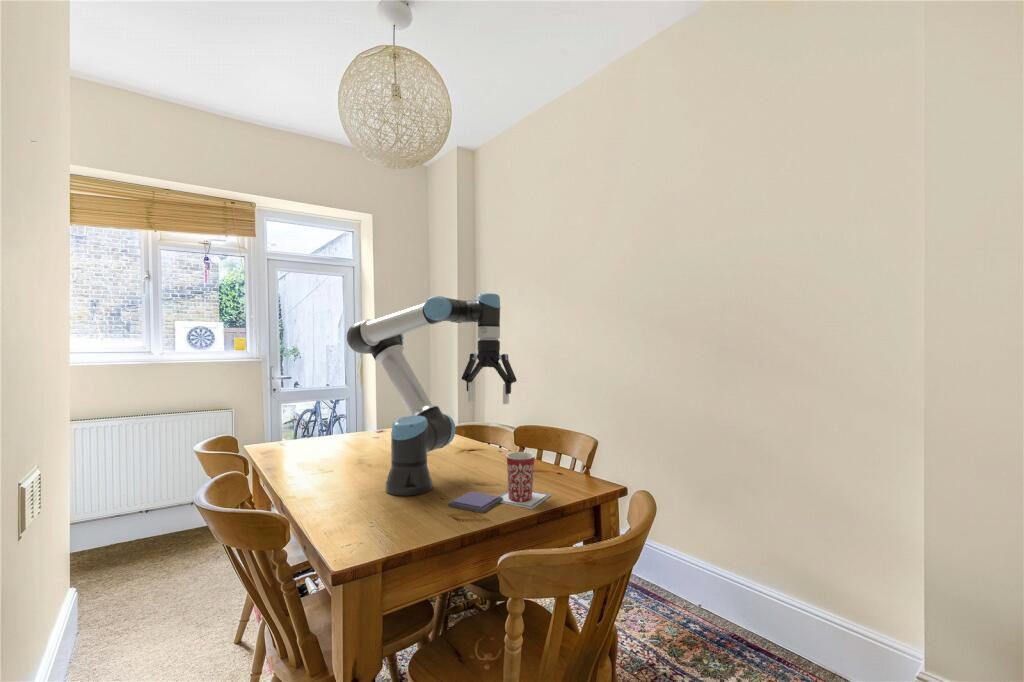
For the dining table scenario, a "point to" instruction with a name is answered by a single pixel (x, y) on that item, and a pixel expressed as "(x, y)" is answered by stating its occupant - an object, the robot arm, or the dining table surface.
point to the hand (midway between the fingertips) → (488, 402)
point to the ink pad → (475, 501)
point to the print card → (536, 499)
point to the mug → (520, 476)
